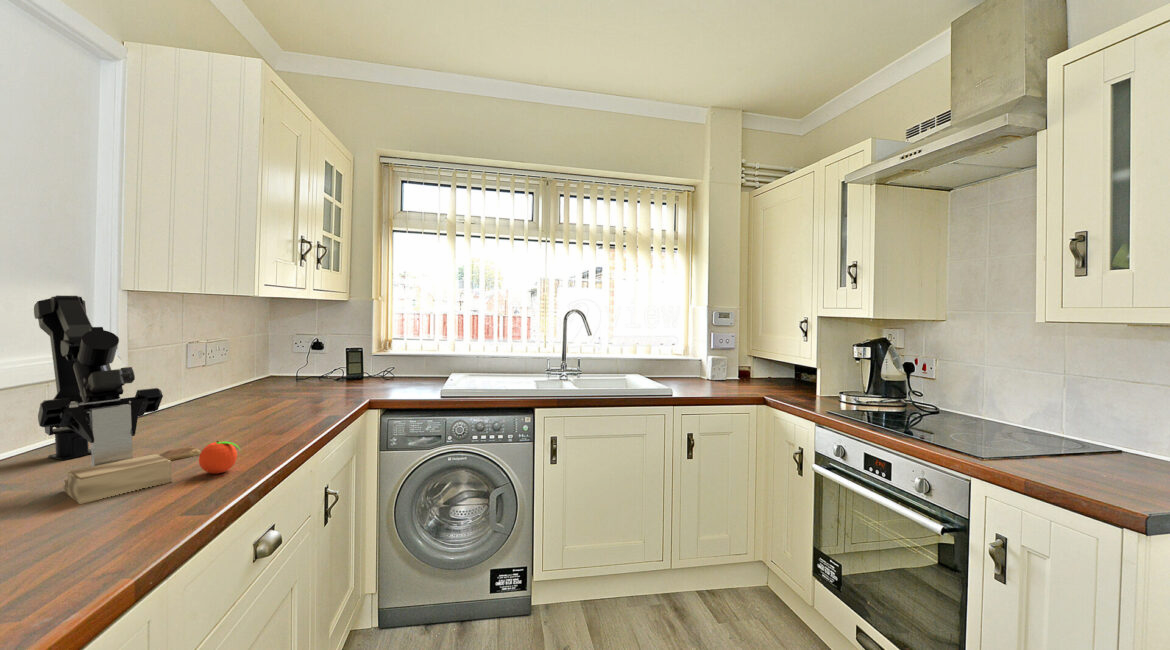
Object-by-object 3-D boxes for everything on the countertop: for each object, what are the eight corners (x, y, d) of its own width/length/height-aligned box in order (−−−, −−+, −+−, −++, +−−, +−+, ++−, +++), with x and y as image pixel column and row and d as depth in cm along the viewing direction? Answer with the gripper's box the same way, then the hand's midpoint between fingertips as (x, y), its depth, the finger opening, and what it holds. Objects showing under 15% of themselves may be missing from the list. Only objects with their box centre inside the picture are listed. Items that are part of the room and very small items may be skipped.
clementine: (248, 466, 116) (247, 435, 116) (235, 476, 110) (234, 444, 109) (208, 469, 115) (207, 438, 114) (192, 479, 108) (191, 446, 108)
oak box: (63, 491, 101) (62, 467, 101) (152, 471, 113) (151, 450, 113) (79, 504, 95) (78, 479, 94) (172, 482, 106) (171, 459, 106)
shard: (145, 468, 116) (145, 460, 116) (135, 462, 121) (134, 455, 121) (201, 456, 125) (201, 449, 125) (189, 451, 130) (189, 444, 130)
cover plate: (92, 471, 103) (89, 408, 103) (130, 463, 108) (128, 404, 108) (94, 473, 102) (91, 410, 102) (133, 465, 107) (130, 405, 107)
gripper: (38, 360, 99) (54, 423, 93) (158, 352, 114) (178, 406, 109) (31, 395, 103) (46, 458, 98) (147, 383, 119) (166, 437, 113)
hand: (113, 438), depth 104 cm, fingers closed on cover plate, 6 cm apart
